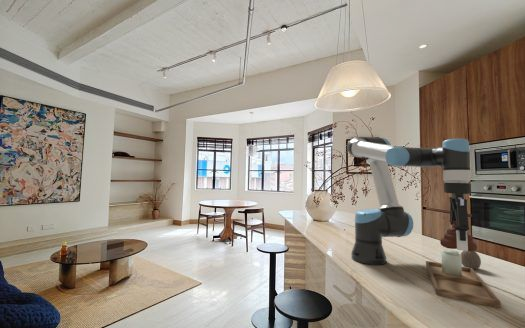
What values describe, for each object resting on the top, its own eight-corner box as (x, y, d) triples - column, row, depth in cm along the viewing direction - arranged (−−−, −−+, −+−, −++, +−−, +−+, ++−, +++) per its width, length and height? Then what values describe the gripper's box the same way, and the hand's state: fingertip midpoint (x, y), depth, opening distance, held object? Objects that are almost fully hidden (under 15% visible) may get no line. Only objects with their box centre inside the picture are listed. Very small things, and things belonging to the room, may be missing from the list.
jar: (443, 274, 94) (442, 251, 94) (440, 269, 99) (440, 247, 100) (463, 278, 91) (463, 254, 91) (460, 272, 96) (459, 250, 97)
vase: (485, 271, 100) (484, 250, 100) (466, 270, 101) (465, 249, 102) (474, 265, 107) (473, 246, 107) (456, 264, 108) (456, 245, 109)
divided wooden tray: (435, 294, 79) (435, 288, 79) (425, 265, 106) (425, 260, 106) (500, 308, 71) (500, 301, 71) (471, 272, 98) (471, 268, 98)
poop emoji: (439, 247, 83) (438, 220, 83) (441, 243, 89) (440, 218, 90) (478, 254, 76) (477, 224, 77) (476, 248, 83) (475, 221, 83)
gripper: (479, 182, 73) (483, 257, 71) (463, 182, 92) (465, 241, 90) (449, 182, 77) (451, 253, 75) (439, 182, 95) (441, 238, 94)
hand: (459, 246), depth 83 cm, fingers closed on poop emoji, 9 cm apart
